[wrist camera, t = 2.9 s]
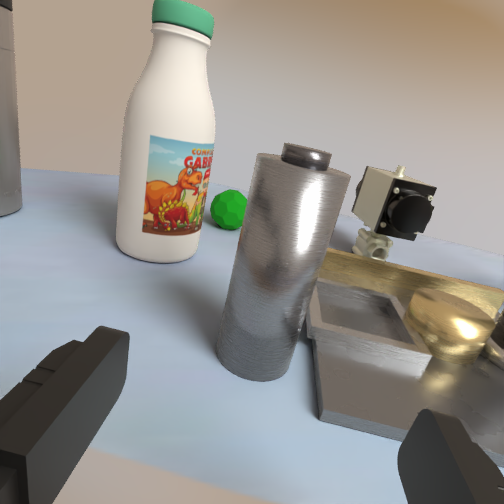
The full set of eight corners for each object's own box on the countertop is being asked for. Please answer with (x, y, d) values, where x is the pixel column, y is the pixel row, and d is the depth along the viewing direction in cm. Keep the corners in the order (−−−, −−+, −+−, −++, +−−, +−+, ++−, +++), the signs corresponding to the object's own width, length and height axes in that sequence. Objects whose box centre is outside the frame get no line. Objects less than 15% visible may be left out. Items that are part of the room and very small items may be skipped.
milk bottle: (103, 257, 28) (117, -27, 21) (127, 227, 36) (144, 7, 28) (193, 271, 30) (236, 7, 22) (199, 240, 37) (233, 32, 29)
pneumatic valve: (365, 276, 37) (406, 170, 33) (337, 239, 48) (365, 155, 44) (410, 284, 38) (457, 181, 34) (373, 246, 49) (404, 164, 44)
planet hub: (208, 369, 19) (255, 139, 14) (223, 323, 23) (264, 135, 19) (289, 390, 19) (365, 165, 14) (289, 339, 23) (347, 155, 19)
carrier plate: (308, 417, 17) (408, 154, 12) (299, 266, 36) (338, 136, 31) (703, 518, 17) (977, 287, 12) (487, 311, 35) (558, 187, 30)
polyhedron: (207, 230, 40) (214, 192, 38) (207, 218, 44) (213, 183, 43) (247, 237, 41) (256, 200, 39) (244, 224, 45) (251, 190, 44)
